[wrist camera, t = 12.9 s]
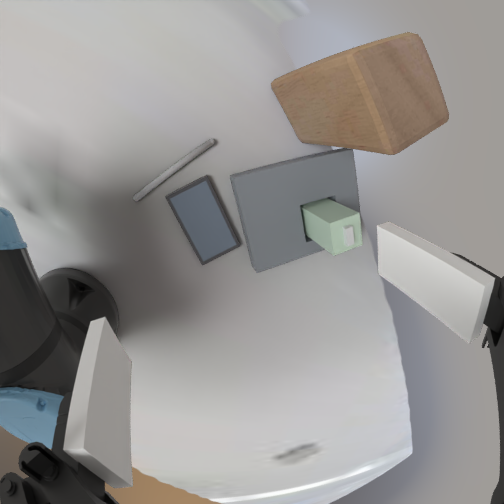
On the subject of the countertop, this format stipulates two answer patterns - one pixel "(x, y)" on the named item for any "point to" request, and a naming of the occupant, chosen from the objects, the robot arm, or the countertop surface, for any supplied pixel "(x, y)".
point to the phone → (203, 220)
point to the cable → (173, 169)
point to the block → (366, 97)
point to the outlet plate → (290, 203)
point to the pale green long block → (332, 225)
